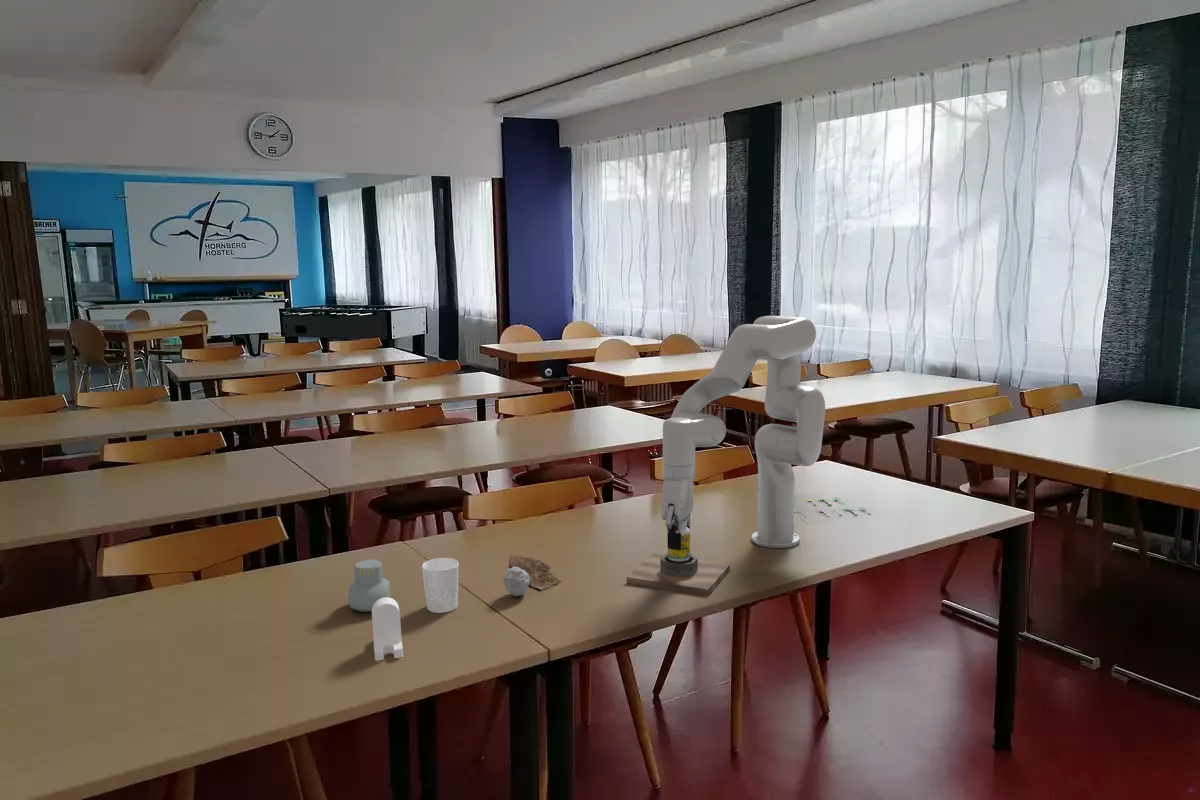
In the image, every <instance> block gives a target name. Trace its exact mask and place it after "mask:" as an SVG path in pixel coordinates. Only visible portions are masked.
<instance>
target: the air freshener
mask: <svg viewBox="0 0 1200 800" xmlns="http://www.w3.org/2000/svg"><path fill="white" fill-rule="evenodd" d="M382 563H383V562H381V561H380V560H377V559H366V560H362V561H361V560H360V561H359V562H356V564H354V566H353V569H354V582H352V583H350V585H349V589H348V606H349V608H351V609H352V610H355V611H358V612H366V613H369V612H372V607H373V605H374V603H375V602H376V601H377V600H379V599H381V598H384V597H389V598H391V582H390V580H388V579H386V578H383V565H382Z"/></svg>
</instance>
